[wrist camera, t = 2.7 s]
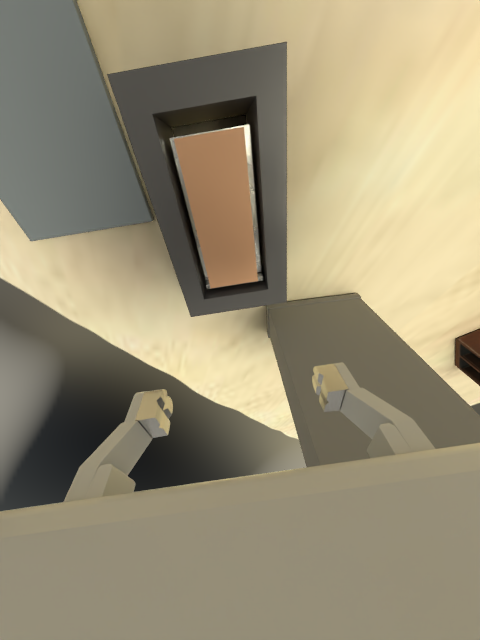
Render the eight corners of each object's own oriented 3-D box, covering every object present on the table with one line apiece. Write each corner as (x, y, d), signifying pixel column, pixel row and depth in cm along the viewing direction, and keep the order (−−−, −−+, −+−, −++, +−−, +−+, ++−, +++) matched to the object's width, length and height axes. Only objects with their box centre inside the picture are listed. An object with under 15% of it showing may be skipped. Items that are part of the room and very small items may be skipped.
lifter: (171, 139, 17) (166, 136, 16) (248, 125, 17) (250, 122, 16) (207, 281, 25) (206, 289, 24) (260, 273, 25) (262, 280, 24)
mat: (64, -32, 14) (57, -41, 14) (154, 219, 24) (152, 221, 23) (-130, 6, 15) (-145, -1, 14) (35, 239, 24) (30, 241, 24)
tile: (179, 141, 17) (173, 138, 15) (241, 130, 17) (243, 126, 15) (211, 277, 24) (210, 288, 22) (254, 270, 24) (257, 280, 22)
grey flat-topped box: (267, 333, 36) (325, 548, 16) (266, 303, 32) (340, 534, 12) (347, 323, 36) (506, 526, 16) (356, 292, 32) (576, 505, 12)
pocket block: (141, 100, 18) (107, 74, 13) (266, 78, 18) (286, 41, 13) (196, 287, 30) (191, 316, 24) (274, 275, 29) (286, 302, 24)
